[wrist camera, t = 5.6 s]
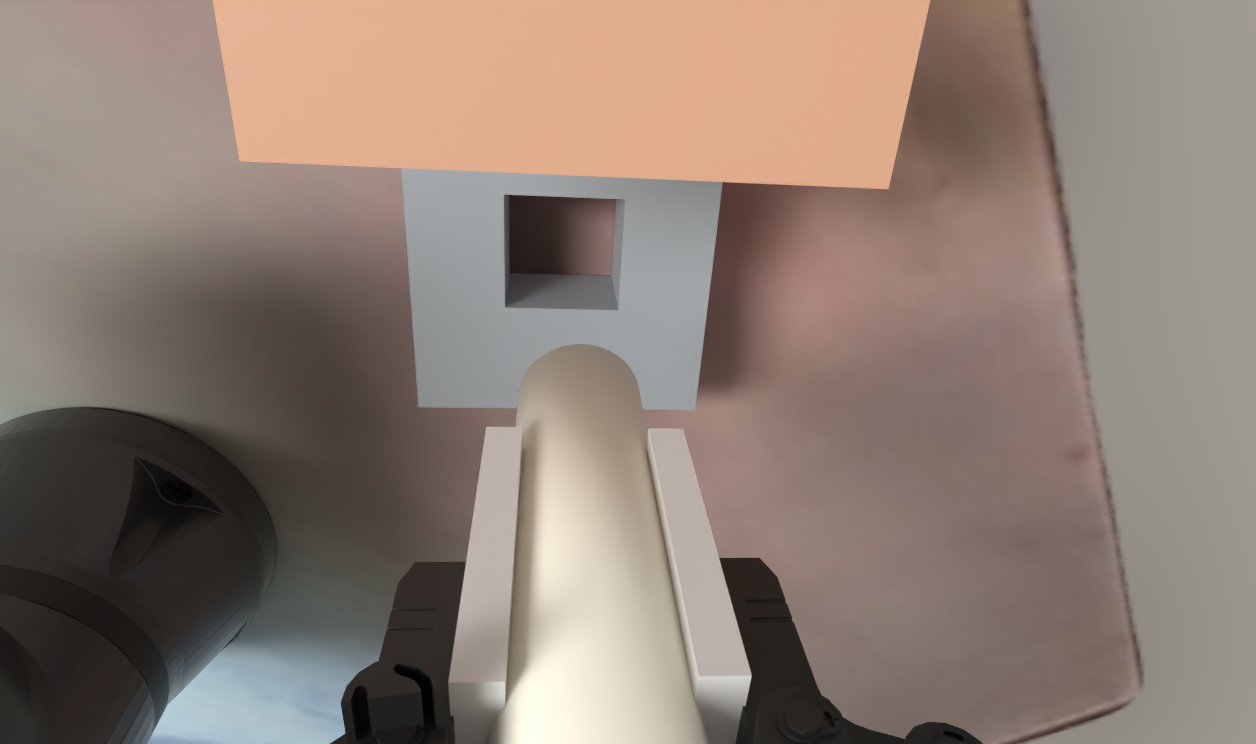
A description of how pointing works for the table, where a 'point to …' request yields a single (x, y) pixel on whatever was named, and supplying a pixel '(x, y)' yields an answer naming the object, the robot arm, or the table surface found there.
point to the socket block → (555, 285)
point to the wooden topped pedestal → (577, 86)
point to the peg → (591, 569)
